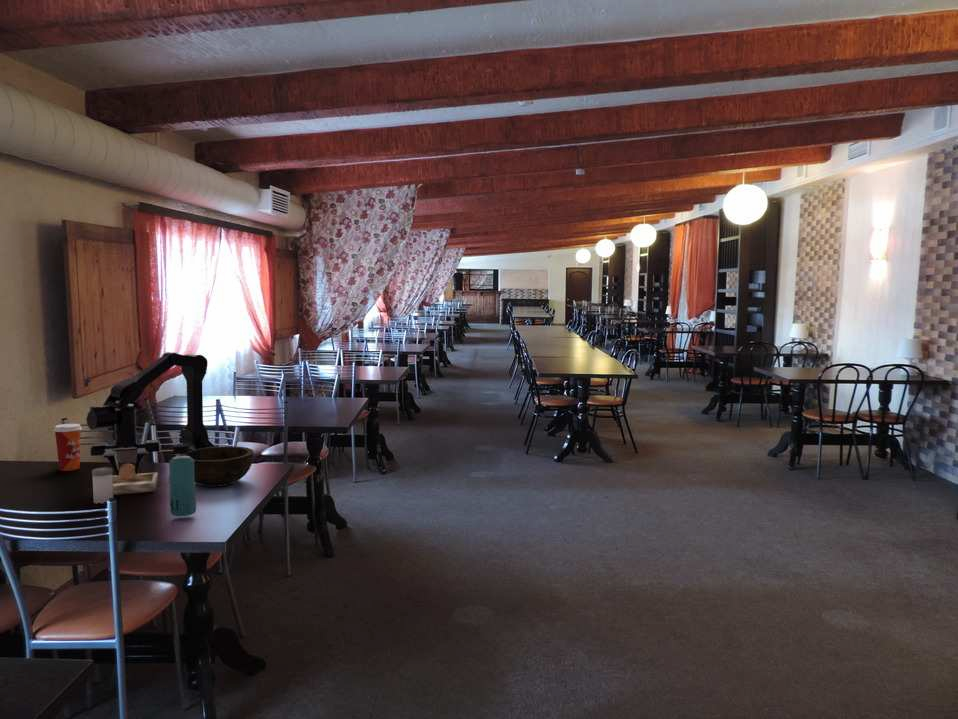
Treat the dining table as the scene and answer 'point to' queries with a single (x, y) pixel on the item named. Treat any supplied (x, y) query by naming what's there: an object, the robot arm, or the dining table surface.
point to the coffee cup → (68, 446)
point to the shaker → (102, 484)
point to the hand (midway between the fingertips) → (127, 475)
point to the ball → (127, 471)
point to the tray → (135, 483)
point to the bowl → (220, 464)
